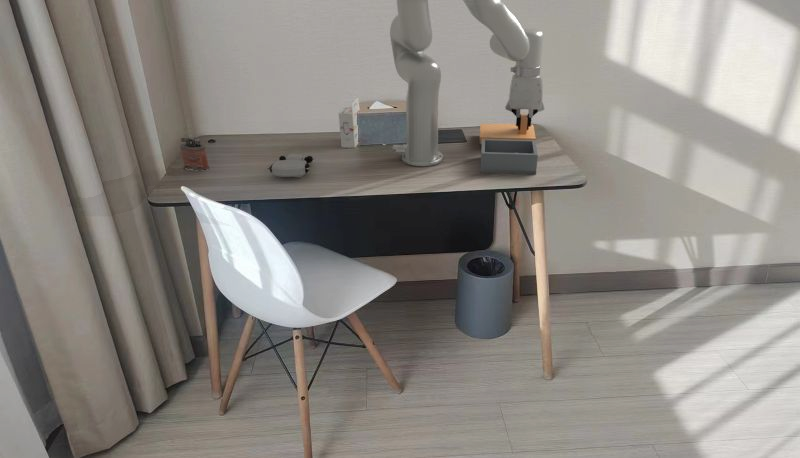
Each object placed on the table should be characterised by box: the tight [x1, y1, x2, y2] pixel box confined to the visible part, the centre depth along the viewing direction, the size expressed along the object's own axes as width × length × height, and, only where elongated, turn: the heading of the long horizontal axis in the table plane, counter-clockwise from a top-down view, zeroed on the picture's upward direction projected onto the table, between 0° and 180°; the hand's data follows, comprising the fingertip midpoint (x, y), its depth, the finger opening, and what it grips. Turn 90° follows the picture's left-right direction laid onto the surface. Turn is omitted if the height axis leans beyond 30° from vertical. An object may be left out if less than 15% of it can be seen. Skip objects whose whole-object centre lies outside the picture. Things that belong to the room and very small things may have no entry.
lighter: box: [179, 136, 210, 171], centre depth 183 cm, size 8×3×10 cm, turn 74°
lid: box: [479, 112, 537, 145], centre depth 196 cm, size 17×13×7 cm
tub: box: [480, 139, 539, 175], centre depth 180 cm, size 16×12×6 cm
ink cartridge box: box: [338, 97, 361, 149], centre depth 198 cm, size 9×5×15 cm, turn 168°
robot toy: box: [265, 153, 316, 179], centre depth 180 cm, size 12×4×15 cm
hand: (523, 128), depth 195 cm, fingers closed on lid
